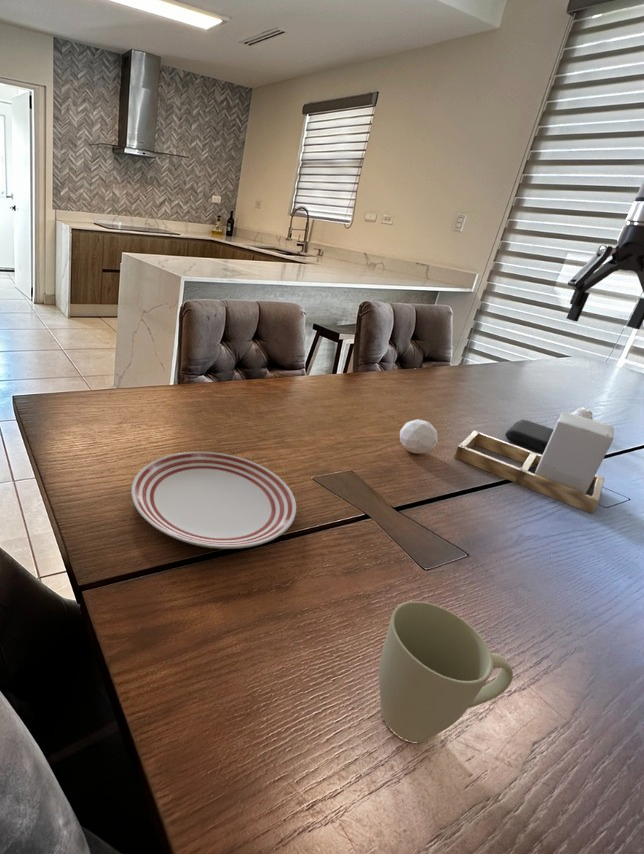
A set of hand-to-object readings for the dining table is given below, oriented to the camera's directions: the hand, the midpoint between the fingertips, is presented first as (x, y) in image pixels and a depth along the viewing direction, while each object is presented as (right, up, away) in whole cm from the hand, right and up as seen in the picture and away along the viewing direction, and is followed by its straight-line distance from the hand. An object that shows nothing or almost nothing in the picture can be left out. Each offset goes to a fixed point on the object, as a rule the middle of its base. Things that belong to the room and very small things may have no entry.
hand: (602, 324), depth 107 cm
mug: (-70, -50, -57) cm, 103 cm away
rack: (-20, -33, -3) cm, 39 cm away
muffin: (+12, -26, +23) cm, 37 cm away
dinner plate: (-90, -35, -27) cm, 100 cm away
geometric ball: (-43, -29, +1) cm, 52 cm away
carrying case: (-6, -28, +13) cm, 32 cm away
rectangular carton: (-16, -36, -7) cm, 40 cm away
